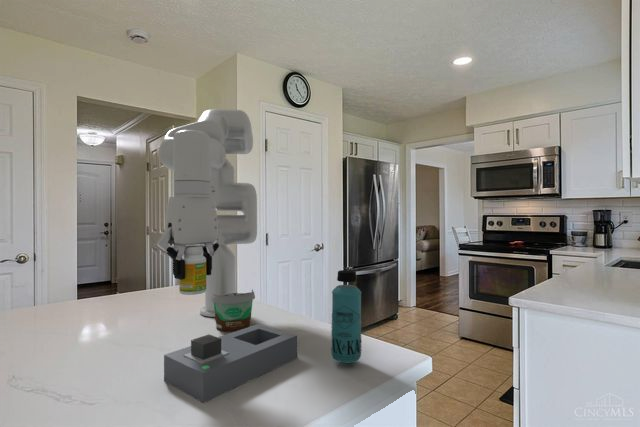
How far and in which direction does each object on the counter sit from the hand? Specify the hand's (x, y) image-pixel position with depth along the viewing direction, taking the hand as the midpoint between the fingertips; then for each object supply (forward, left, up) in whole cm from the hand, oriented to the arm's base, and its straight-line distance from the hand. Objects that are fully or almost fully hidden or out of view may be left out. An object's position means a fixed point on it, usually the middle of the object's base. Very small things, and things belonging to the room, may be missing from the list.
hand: (193, 275), depth 76 cm
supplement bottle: (0, 0, -4) cm, 4 cm away
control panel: (-5, +8, -19) cm, 21 cm away
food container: (-21, -12, -19) cm, 31 cm away
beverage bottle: (-21, +25, -19) cm, 38 cm away
